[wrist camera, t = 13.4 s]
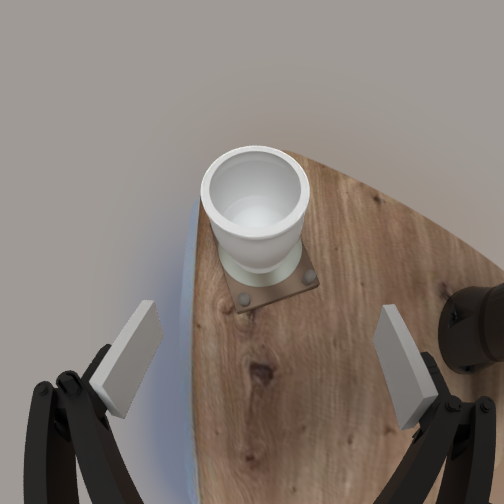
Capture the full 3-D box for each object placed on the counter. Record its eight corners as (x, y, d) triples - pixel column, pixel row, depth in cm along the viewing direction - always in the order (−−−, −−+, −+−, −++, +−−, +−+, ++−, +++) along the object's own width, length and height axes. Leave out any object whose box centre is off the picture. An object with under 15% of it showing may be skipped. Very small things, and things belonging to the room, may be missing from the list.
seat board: (283, 206, 43) (285, 189, 39) (317, 287, 39) (324, 278, 34) (211, 229, 43) (205, 214, 38) (238, 314, 38) (234, 309, 33)
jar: (212, 229, 40) (186, 166, 26) (275, 203, 41) (278, 133, 27) (240, 293, 37) (223, 256, 23) (308, 263, 38) (331, 210, 24)
